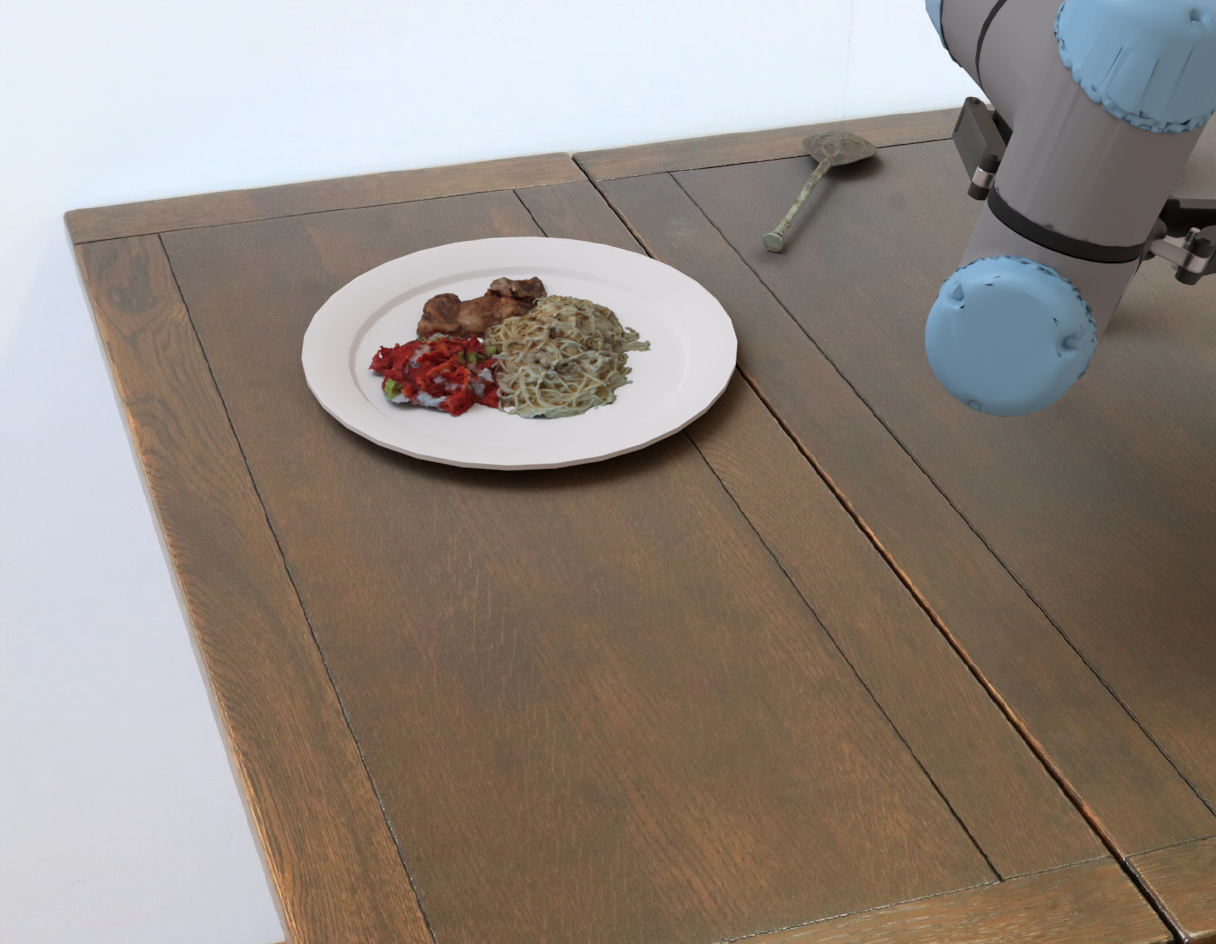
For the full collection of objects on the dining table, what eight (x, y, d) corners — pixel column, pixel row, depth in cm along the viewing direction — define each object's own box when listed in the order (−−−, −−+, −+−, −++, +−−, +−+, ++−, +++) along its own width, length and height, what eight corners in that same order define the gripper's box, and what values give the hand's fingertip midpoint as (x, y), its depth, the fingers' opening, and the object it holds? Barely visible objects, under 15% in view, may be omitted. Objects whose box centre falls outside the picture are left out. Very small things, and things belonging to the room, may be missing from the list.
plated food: (812, 335, 108) (817, 293, 105) (572, 549, 89) (572, 503, 87) (483, 223, 120) (481, 184, 118) (212, 390, 101) (204, 347, 99)
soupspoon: (885, 159, 131) (814, 149, 134) (889, 121, 129) (816, 112, 132) (810, 260, 116) (730, 247, 118) (813, 218, 114) (731, 206, 116)
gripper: (833, 222, 84) (937, 128, 100) (1260, 402, 79) (1298, 272, 95) (877, 94, 80) (979, 16, 96) (1334, 276, 74) (1361, 161, 90)
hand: (1138, 143), depth 95 cm, fingers open, 13 cm apart
